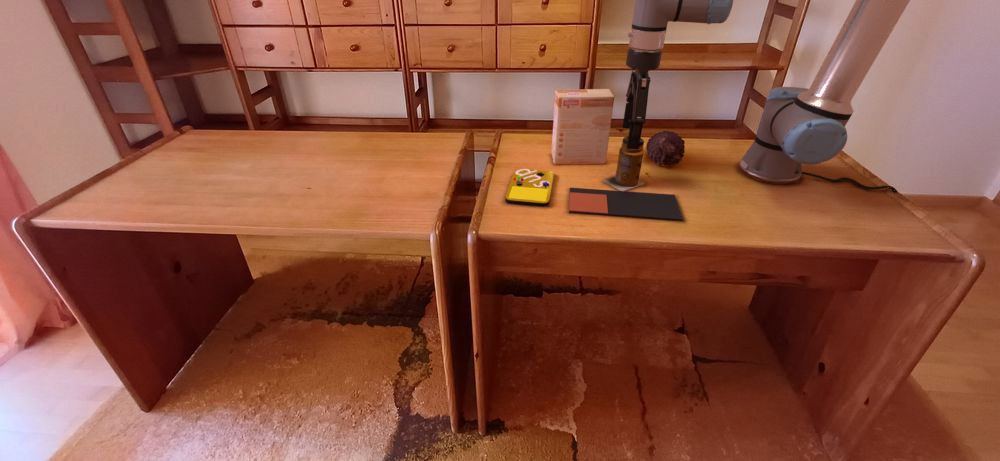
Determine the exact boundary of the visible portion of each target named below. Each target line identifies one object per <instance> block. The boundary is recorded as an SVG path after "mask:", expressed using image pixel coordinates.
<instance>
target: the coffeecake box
mask: <svg viewBox="0 0 1000 461" xmlns="http://www.w3.org/2000/svg"><path fill="white" fill-rule="evenodd" d="M554 92H555V94H554V108H553V121H552V122H553V124H552V140H551V157H552V162H553V164H554V165H595V164H596V165H603V164H604V165H605V164H606V163H607V158H608V151H609V150H608V149H609V142H610V141H609V140H610V133H611V126H612V118H613V109H614V103H615V95H614V94H613V93H612V91H611V89H610V88H586V89H585V88H583V89H582V88H581V89H578V88H575V89H555V91H554Z"/></svg>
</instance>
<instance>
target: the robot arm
mask: <svg viewBox="0 0 1000 461" xmlns="http://www.w3.org/2000/svg"><path fill="white" fill-rule="evenodd" d="M910 1H911V0H855V1H854V3H853V6H852V7H851V9H850V11H849V13H848V14H847V16H846V19H845V20H844V22H843V24H842V26H841V28H840V29H839V32H838V34H836V35H837V36H836V38H835V40H834V41H833V43H832V45H831V47H830V48H829V51H828V52H827V54H826V56H825V57H824V60H823V62H822V64H821V65H820V67H819V69H818V72H817V73H816V75H815V77H814V78H813V81H812V83H811V85H810V86H809V88H805V87H796V86H776V87H773V88H772V89H771V90H769V93H768V95H767V98H766V99H765V104H764V107H763V110H762V113H761V116H760V121H759V123H758V126H757V131H756V133H755V137H754V140H753V142H752V144H751V145H750V146H749V147H748V149H747V150H746V152H745V153H744V155H743V156H742V157H741V159H740V161H739V165H738V170H739V171H740V172H741V173H742V174H743V175H744V176H746V177H748V178H749V179H752V180H754V181H757V182H760V183H764V184H769V185H770V184H771V185H777V186H778V185H780V186H783V185H784V186H785V185H793V184H797V183H798V182H799V181H800V180H801V177H802V175H804V176H809V177H813V178H817V179H821V180H824V181H826V182H833V183H837V182H841V181H846V182H847V181H848V182H851V183H853V184H854V185H856V186H858V187H860V188H862V189H865V190H871V191H872V190H882V189H889V190H891V191H892V192H893V193H898V189H896V188H895V187H894V186H891V185H880V186H879V185H878V186H868V185H864V184H862V183H860V182H858V181H856V180H855V179H853V178H851V177H839V178H829V177H826V176H822V175H819V174H815V173H811V172H806V171H803V165H804V166H815V165H820V164H822V163H825V162H828V161H831V160H832V159H834V158H835V157H837V156H838V155H839V154H840V153H841V152H842V151H843V150H844V148H845V147H846V144H847V141H848V130H847V127H846V126H847V124H848V122H849V120H850V119H851V117H852V115H853V114H854V108H853V106H852V100H853V98H854V97H855V95H856V93H857V91H858V90H859V88H860V87H861V85H862V83H863V81H864V79H865V78H866V76H867V74H868V73H869V72H870V69H871V68H872V66H873V64H874V63H875V61H876V59H877V58H878V56H879V54H880V52H881V51H882V49H883V47H884V46H885V44H886V43H887V40H888V39H889V37H890V35H891V34H892V32H893V31H894V28H895V27H896V26H897V24H898V22H899V21H900V18H901V17H902V15H903V13H904V12H905V10H906V9H907V6H908V5H909V3H910ZM733 4H734V0H634V6H633V14H632V21H631V29H630V30H631V31H630V32H627V37H628V38H629V42H628V46H629V48H628V49H627V52H626V60H625V65H626V67H627V68H630V69H631V73H630V78H629V81H628V87H627V91H626V94H625V98H626V99H625V101H626V103H625V107H624V108H625V109H624V114H623V121H622V125H621V128H622V129H629V131H628V135H627V136H628V141H627V147H626V148H627V149H639V143H640V138H642V133H643V132H642V131H643V127H644V124H646V121H647V118H646V117H647V109H648V101H649V100H648V98H649V90H650V84H651V82H652V81H651V77H650V74H649V71H655V70H657V69H659V67H660V66H661V65H660V64H661V61H662V60H661V59H662V55H663V52H662V49H663V48H664V46H665V44H664V43H665V40H666V35H667V28H668V24H669V22H673V23H676V22H677V23H678V22H679V23H692V24H693V23H694V24H707V25H712V24H724V23H725V22H726V21H727V20H728V18H729V16H730V15H731V12H732V9H733ZM887 187H889V188H887ZM890 187H891V188H890ZM894 190H895V191H894Z"/></svg>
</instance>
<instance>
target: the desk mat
mask: <svg viewBox="0 0 1000 461" xmlns="http://www.w3.org/2000/svg"><path fill="white" fill-rule="evenodd" d="M568 213H569V214H575V215H576V214H577V215H588V216H589V215H591V216H602V217H603V216H605V217H617V218H629V219H630V218H632V219H643V220H644V219H645V220H646V219H647V220H657V221H670V222H671V221H672V222H684V218H683V215H682V211H681V208H680V206H679V203H678V201H677V197H676V195H675V194H669V193H656V192H655V193H654V192H643V191H641V192H639V191H628V190H625V191H620V190H612V189H597V188H594V189H593V188H582V187H581V188H580V187H569V201H568Z"/></svg>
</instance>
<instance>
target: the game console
mask: <svg viewBox="0 0 1000 461" xmlns="http://www.w3.org/2000/svg"><path fill="white" fill-rule="evenodd" d="M554 179H555V172H553V171H551V170H544V169H543V170H542V169H541V170H540V169H531V168H521V169H517V170H516V171H514V172H513V173H512V176H511V179H510V182H509V185H508V188H507V190H506V194H505V197H504V198H505V199H504V200H505V203H507V204H509V205H515V206H516V205H518V206H528V207H539V208H540V207H541V208H545V207H549V205H550V201H551V196H552V190H553V185H554Z"/></svg>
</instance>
